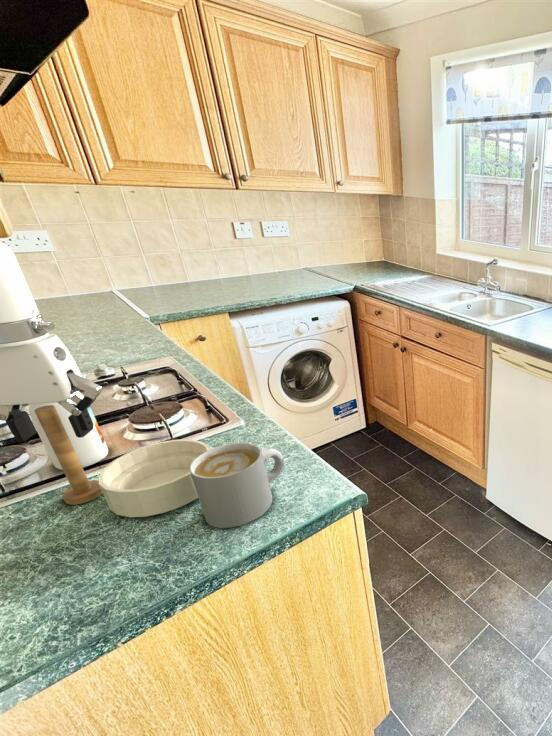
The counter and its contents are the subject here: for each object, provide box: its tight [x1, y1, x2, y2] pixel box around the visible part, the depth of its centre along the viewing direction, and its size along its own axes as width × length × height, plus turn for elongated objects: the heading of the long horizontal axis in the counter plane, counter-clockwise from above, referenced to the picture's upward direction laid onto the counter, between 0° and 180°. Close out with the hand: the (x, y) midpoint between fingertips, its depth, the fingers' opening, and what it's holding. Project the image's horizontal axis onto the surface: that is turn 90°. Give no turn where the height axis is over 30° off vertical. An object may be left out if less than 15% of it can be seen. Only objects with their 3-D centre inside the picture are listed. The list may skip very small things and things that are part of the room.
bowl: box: [97, 438, 211, 518], centre depth 74 cm, size 15×15×6 cm
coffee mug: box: [190, 442, 285, 529], centre depth 71 cm, size 13×10×10 cm
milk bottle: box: [27, 391, 109, 471], centre depth 77 cm, size 8×8×20 cm
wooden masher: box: [35, 405, 103, 506], centre depth 69 cm, size 5×5×17 cm
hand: (56, 434), depth 68 cm, fingers open, 6 cm apart
